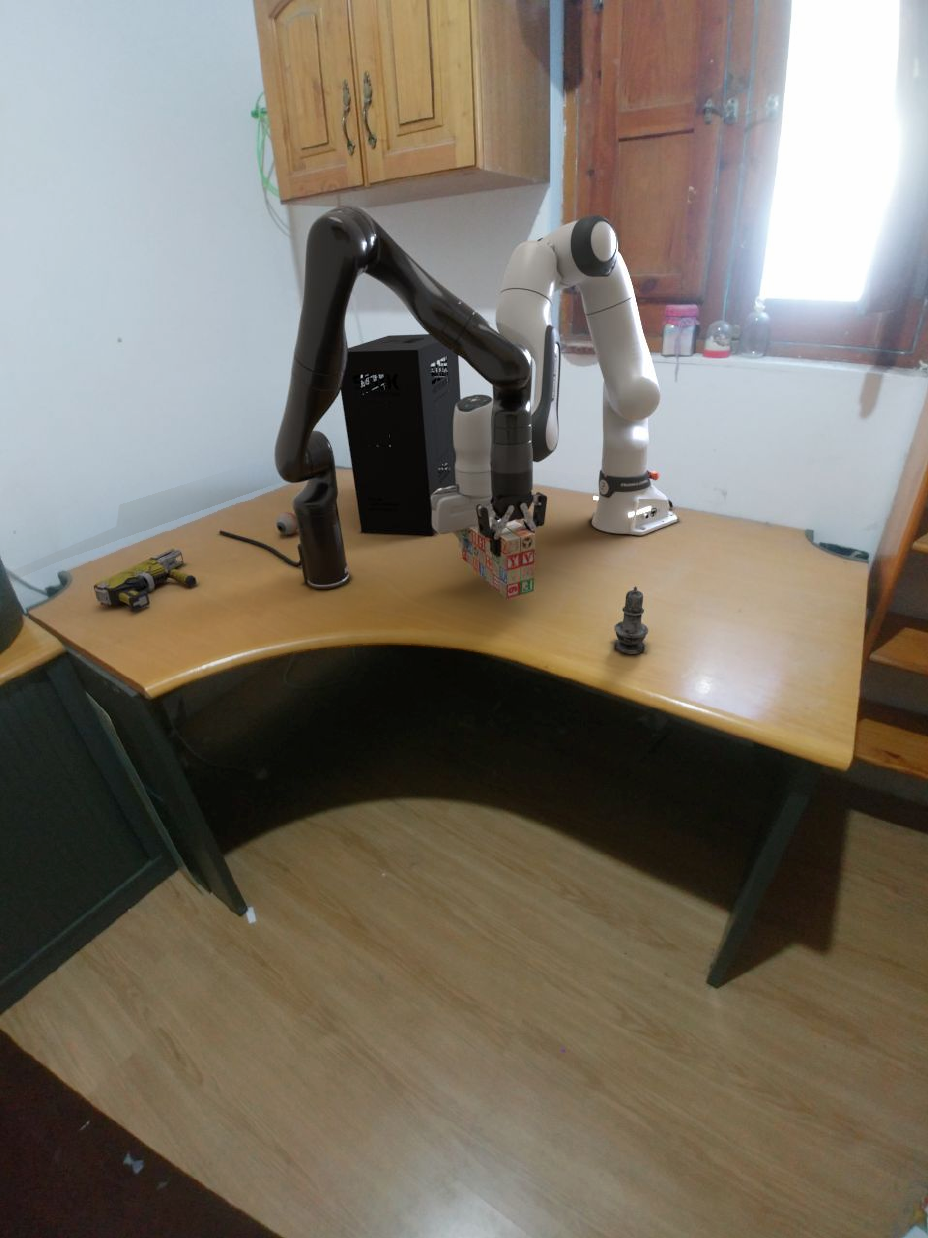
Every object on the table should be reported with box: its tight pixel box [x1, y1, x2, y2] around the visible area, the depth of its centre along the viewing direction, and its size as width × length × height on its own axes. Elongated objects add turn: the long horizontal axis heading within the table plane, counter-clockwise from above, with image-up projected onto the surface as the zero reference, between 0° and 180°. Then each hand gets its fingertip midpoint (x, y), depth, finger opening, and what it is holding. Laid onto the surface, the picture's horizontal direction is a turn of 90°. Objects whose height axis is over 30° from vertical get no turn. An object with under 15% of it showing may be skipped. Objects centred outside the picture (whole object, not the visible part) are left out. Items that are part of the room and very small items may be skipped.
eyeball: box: [275, 511, 298, 536], centre depth 163 cm, size 6×6×6 cm
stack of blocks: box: [460, 517, 536, 599], centre depth 123 cm, size 21×6×12 cm, turn 25°
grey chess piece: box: [613, 585, 649, 655], centre depth 105 cm, size 6×6×12 cm
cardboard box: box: [340, 333, 462, 536], centre depth 166 cm, size 38×20×45 cm, turn 167°
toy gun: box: [93, 548, 197, 612], centre depth 139 cm, size 5×24×15 cm
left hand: (512, 551), depth 116 cm, fingers closed on stack of blocks, 6 cm apart
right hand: (479, 544), depth 129 cm, fingers closed on stack of blocks, 6 cm apart
